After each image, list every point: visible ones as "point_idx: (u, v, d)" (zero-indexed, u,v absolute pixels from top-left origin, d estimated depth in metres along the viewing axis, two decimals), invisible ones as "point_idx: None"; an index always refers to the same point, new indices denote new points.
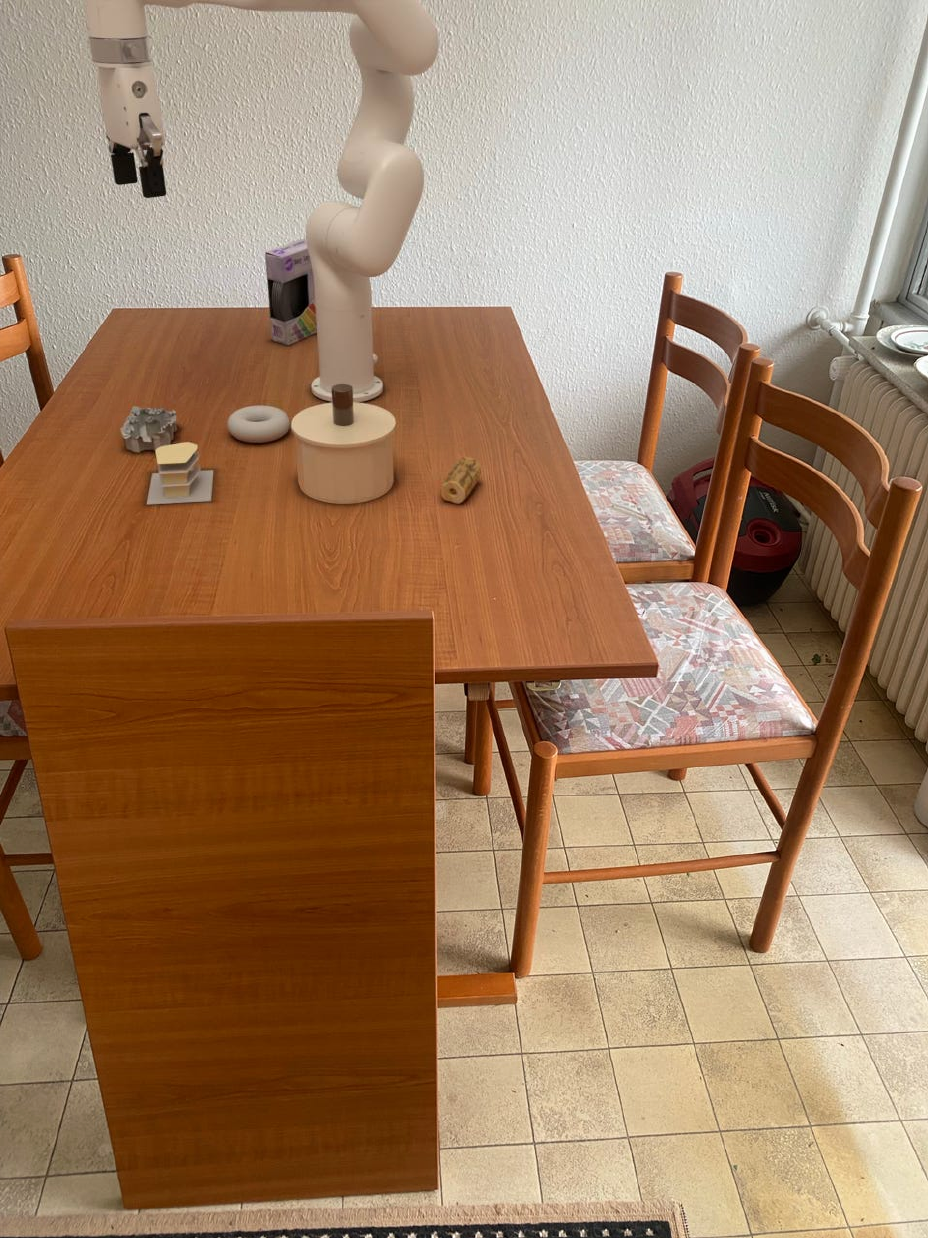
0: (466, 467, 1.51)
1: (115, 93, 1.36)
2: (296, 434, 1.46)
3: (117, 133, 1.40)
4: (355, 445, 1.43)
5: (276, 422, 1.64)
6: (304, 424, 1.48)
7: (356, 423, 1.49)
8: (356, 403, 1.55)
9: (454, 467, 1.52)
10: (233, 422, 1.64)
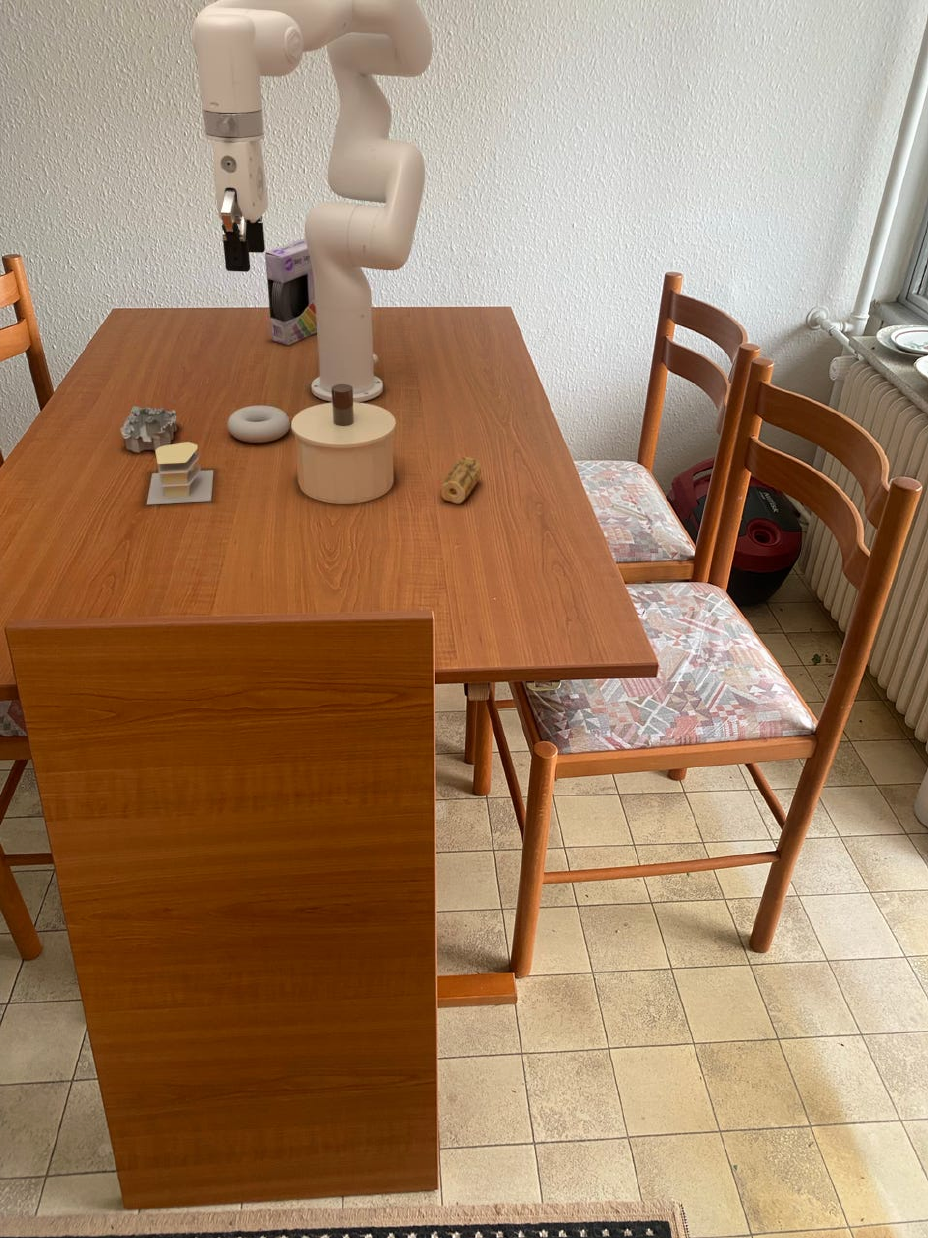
0: (466, 467, 1.51)
1: None
2: (296, 434, 1.46)
3: None
4: (355, 445, 1.43)
5: (276, 422, 1.64)
6: (304, 424, 1.48)
7: (356, 423, 1.49)
8: (356, 403, 1.55)
9: (454, 467, 1.52)
10: (233, 422, 1.64)
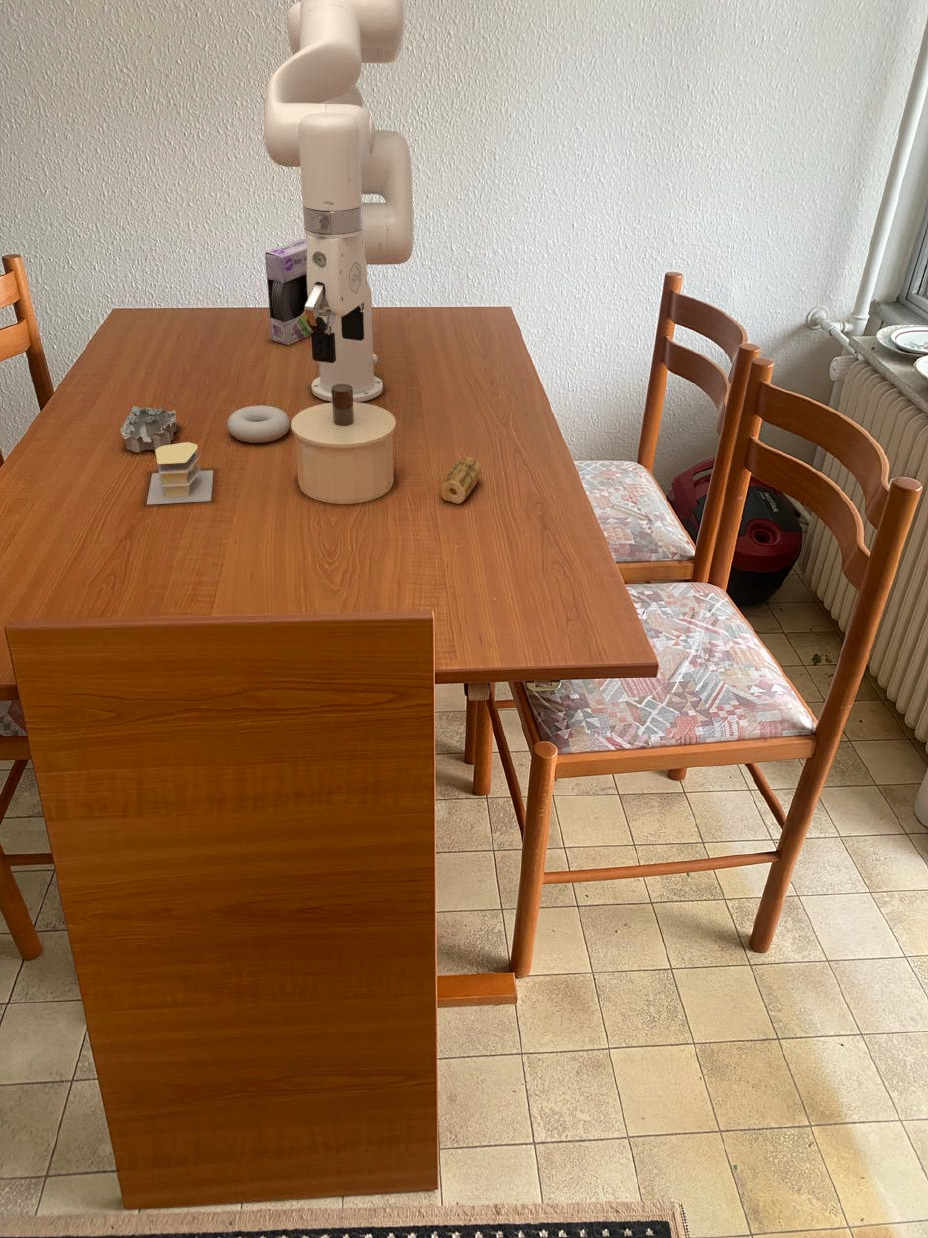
0: (466, 467, 1.51)
1: None
2: (296, 434, 1.46)
3: None
4: (355, 445, 1.43)
5: (276, 422, 1.64)
6: (304, 424, 1.48)
7: (356, 423, 1.49)
8: (356, 403, 1.55)
9: (454, 467, 1.52)
10: (233, 422, 1.64)
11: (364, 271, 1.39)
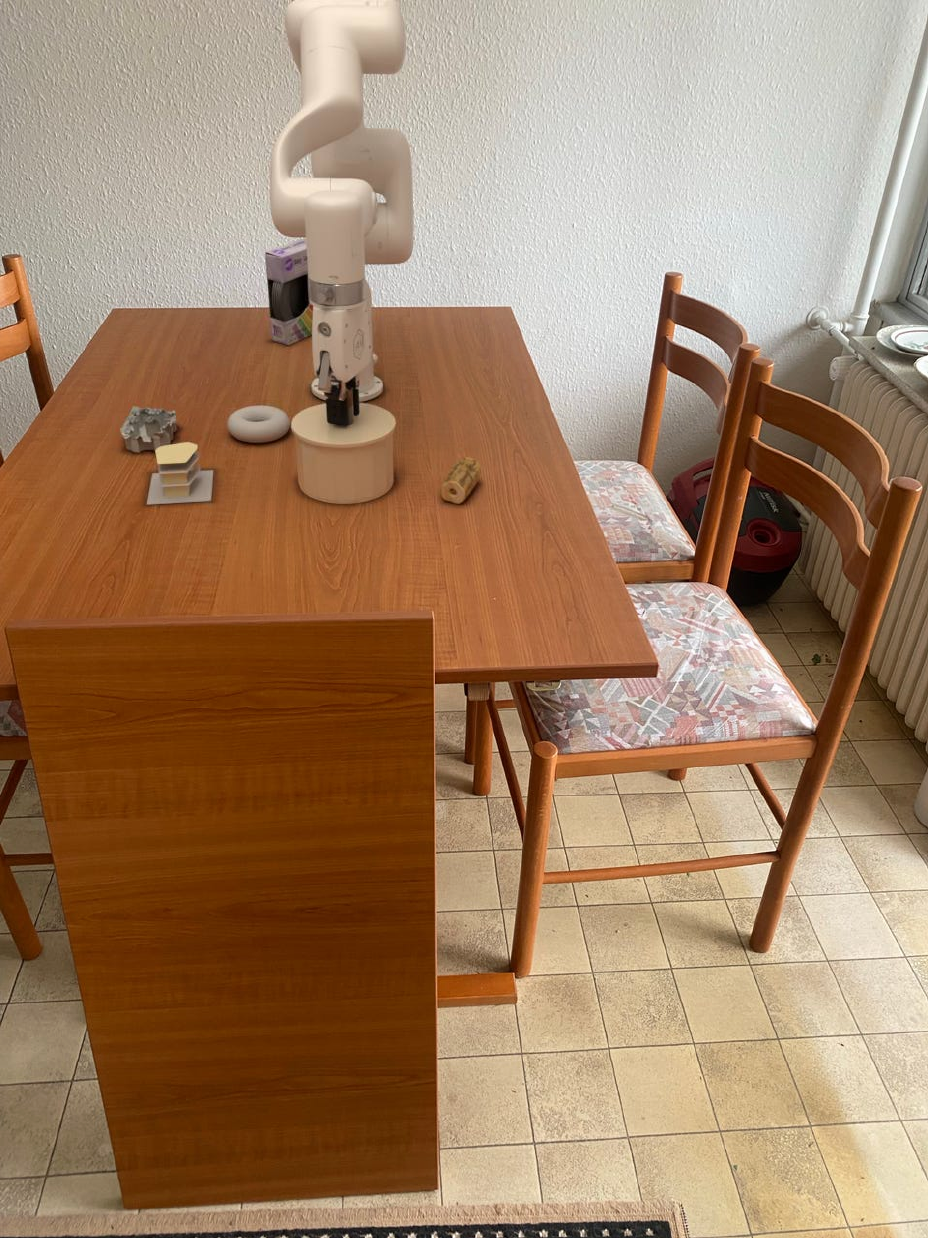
0: (466, 467, 1.51)
1: None
2: (296, 434, 1.46)
3: None
4: (355, 445, 1.43)
5: (276, 422, 1.64)
6: (304, 424, 1.48)
7: (356, 423, 1.49)
8: None
9: (454, 467, 1.52)
10: (233, 422, 1.64)
11: (367, 336, 1.44)
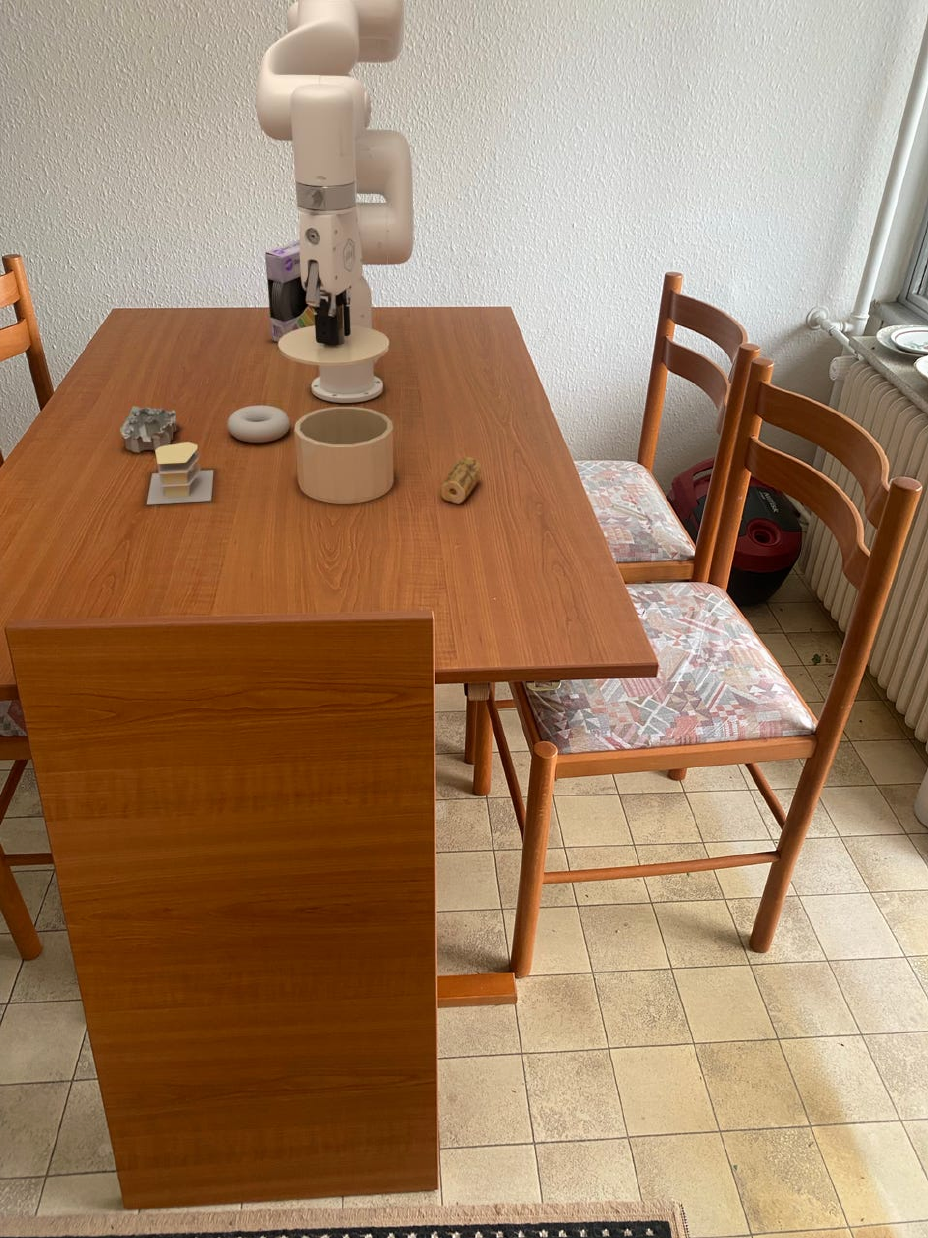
0: (466, 467, 1.51)
1: None
2: (283, 354, 1.37)
3: None
4: (346, 363, 1.35)
5: (276, 422, 1.64)
6: (292, 344, 1.39)
7: (347, 343, 1.40)
8: None
9: (454, 467, 1.52)
10: (233, 422, 1.64)
11: (358, 248, 1.36)
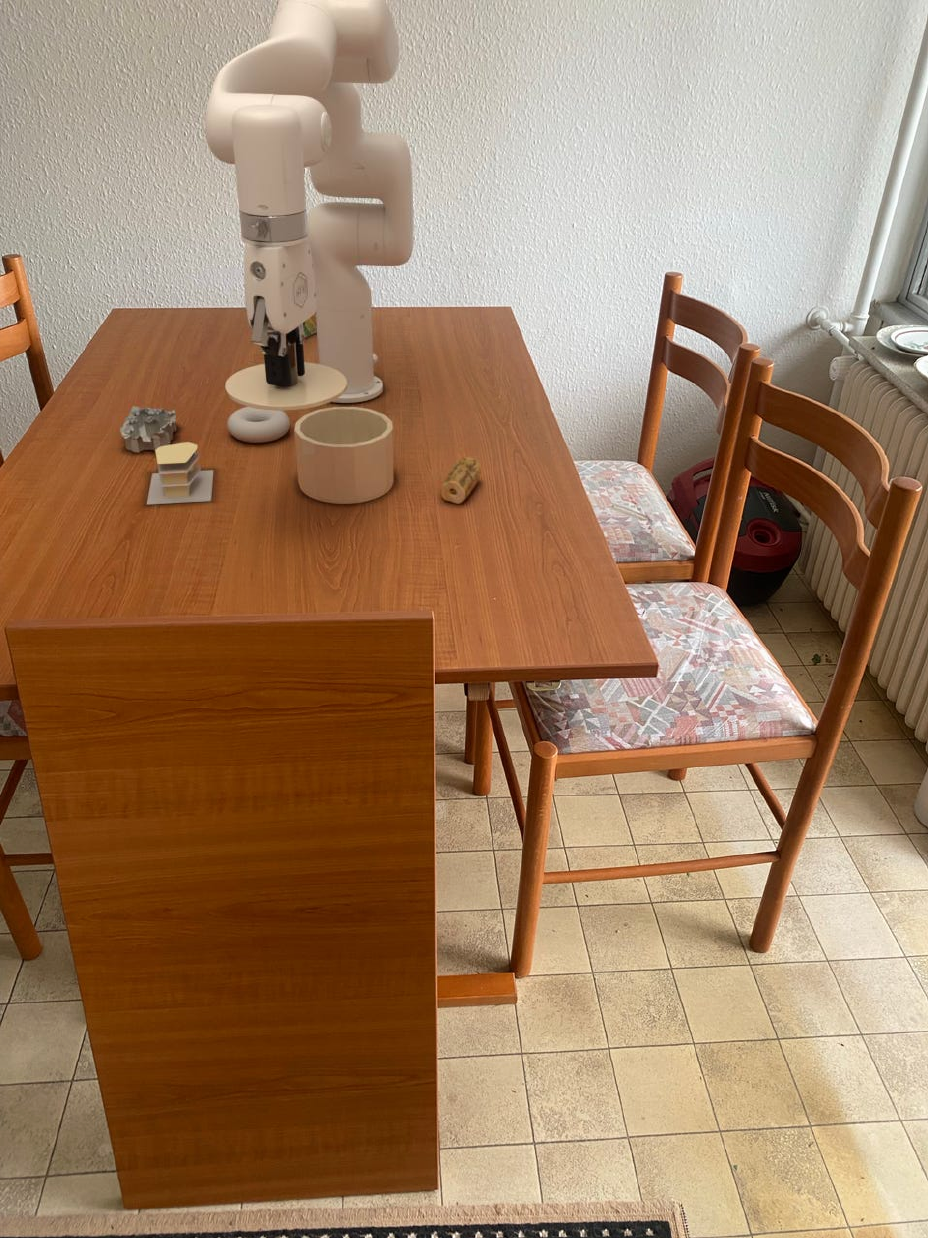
0: (466, 467, 1.51)
1: None
2: (230, 396, 1.26)
3: None
4: (297, 407, 1.23)
5: (276, 422, 1.64)
6: (240, 385, 1.28)
7: (300, 384, 1.29)
8: None
9: (454, 467, 1.52)
10: (233, 422, 1.64)
11: (312, 282, 1.25)
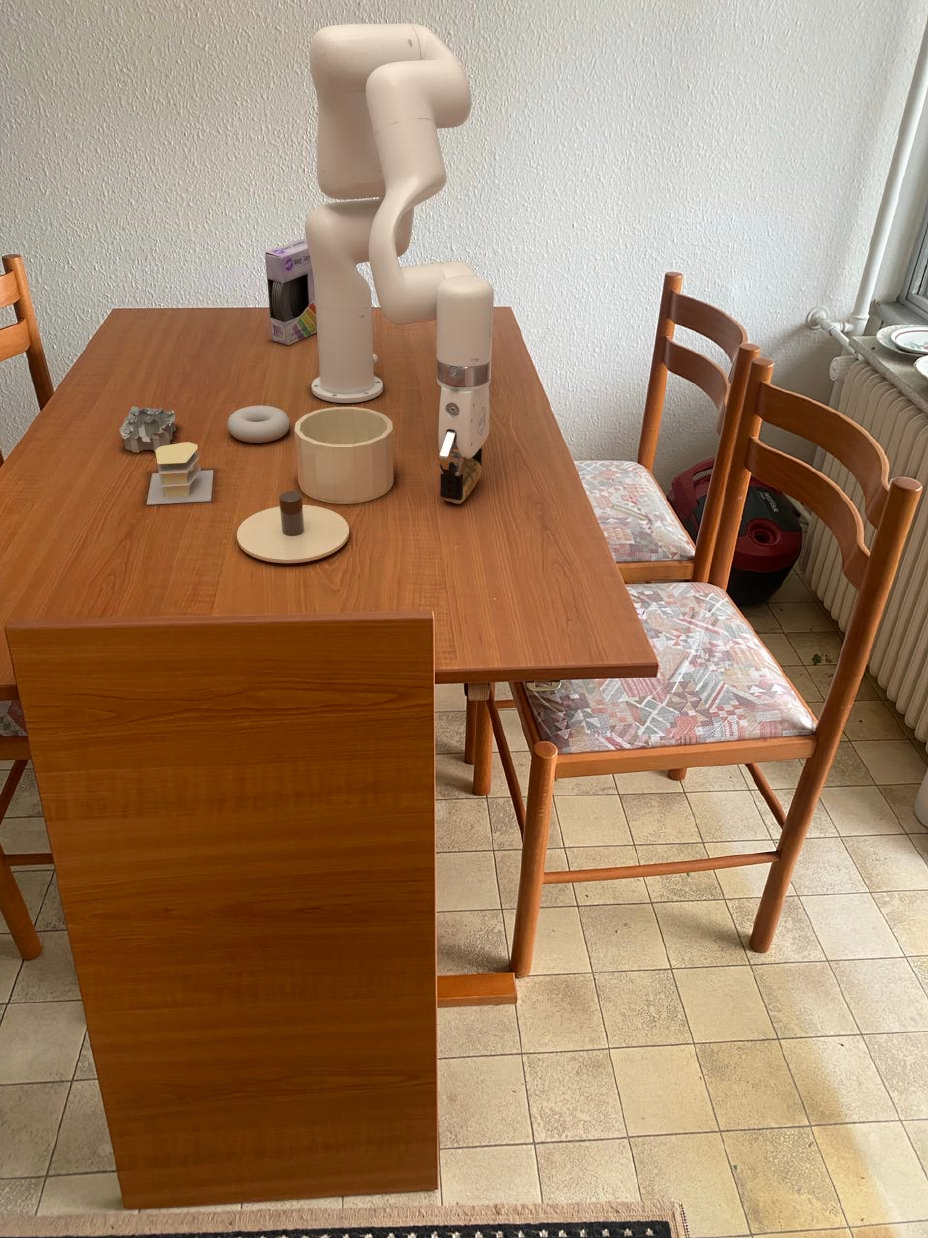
0: (466, 467, 1.51)
1: None
2: (241, 547, 1.36)
3: None
4: (303, 560, 1.34)
5: (276, 422, 1.64)
6: (251, 534, 1.38)
7: (306, 533, 1.39)
8: (308, 506, 1.45)
9: None
10: (233, 422, 1.64)
11: (487, 412, 1.48)
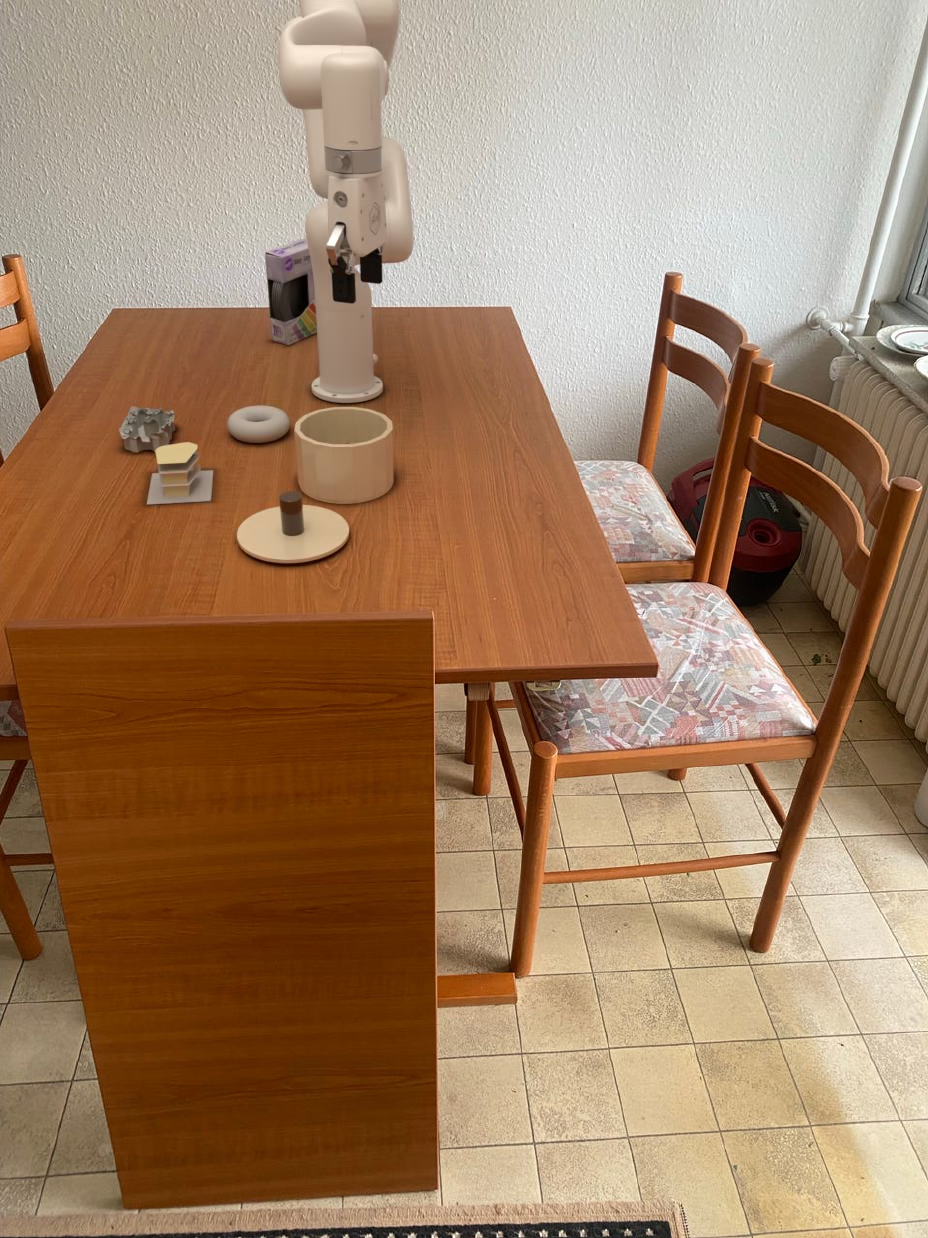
0: None
1: None
2: (241, 547, 1.36)
3: None
4: (303, 560, 1.34)
5: (276, 422, 1.64)
6: (251, 534, 1.38)
7: (306, 533, 1.39)
8: (308, 506, 1.45)
9: None
10: (233, 422, 1.64)
11: (383, 213, 1.41)
